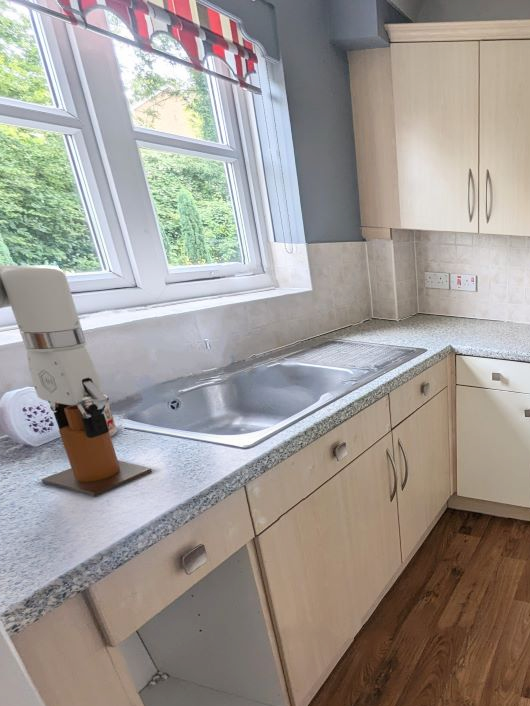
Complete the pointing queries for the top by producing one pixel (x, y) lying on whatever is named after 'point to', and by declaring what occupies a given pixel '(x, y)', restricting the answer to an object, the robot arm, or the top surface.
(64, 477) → the board
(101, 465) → the bottle
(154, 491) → the top surface
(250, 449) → the top surface
